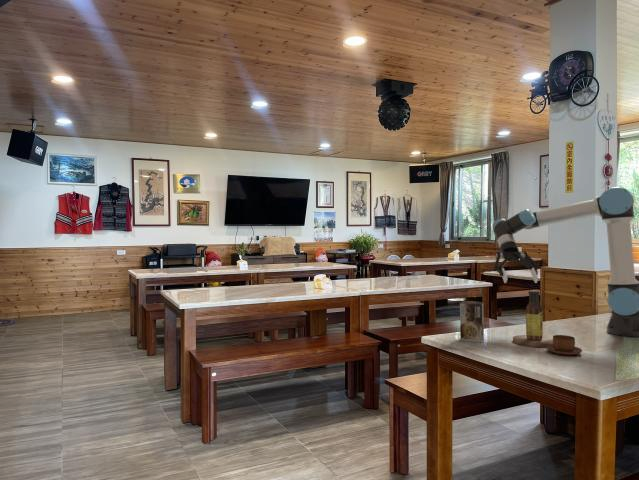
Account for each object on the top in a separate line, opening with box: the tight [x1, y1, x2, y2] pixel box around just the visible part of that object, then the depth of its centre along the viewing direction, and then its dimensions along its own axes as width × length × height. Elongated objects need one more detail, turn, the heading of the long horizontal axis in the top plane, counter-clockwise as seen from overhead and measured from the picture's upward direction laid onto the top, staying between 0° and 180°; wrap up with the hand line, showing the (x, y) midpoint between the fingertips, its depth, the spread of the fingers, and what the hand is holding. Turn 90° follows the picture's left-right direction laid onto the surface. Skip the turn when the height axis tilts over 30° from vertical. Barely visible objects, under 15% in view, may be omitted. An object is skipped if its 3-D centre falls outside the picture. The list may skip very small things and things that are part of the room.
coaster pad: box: [512, 334, 553, 349], centre depth 192 cm, size 16×16×2 cm
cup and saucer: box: [546, 334, 583, 356], centre depth 176 cm, size 12×12×6 cm
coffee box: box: [459, 300, 485, 343], centre depth 197 cm, size 9×6×16 cm
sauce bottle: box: [525, 290, 544, 340], centre depth 192 cm, size 6×6×20 cm
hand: (521, 281), depth 207 cm, fingers open, 13 cm apart
